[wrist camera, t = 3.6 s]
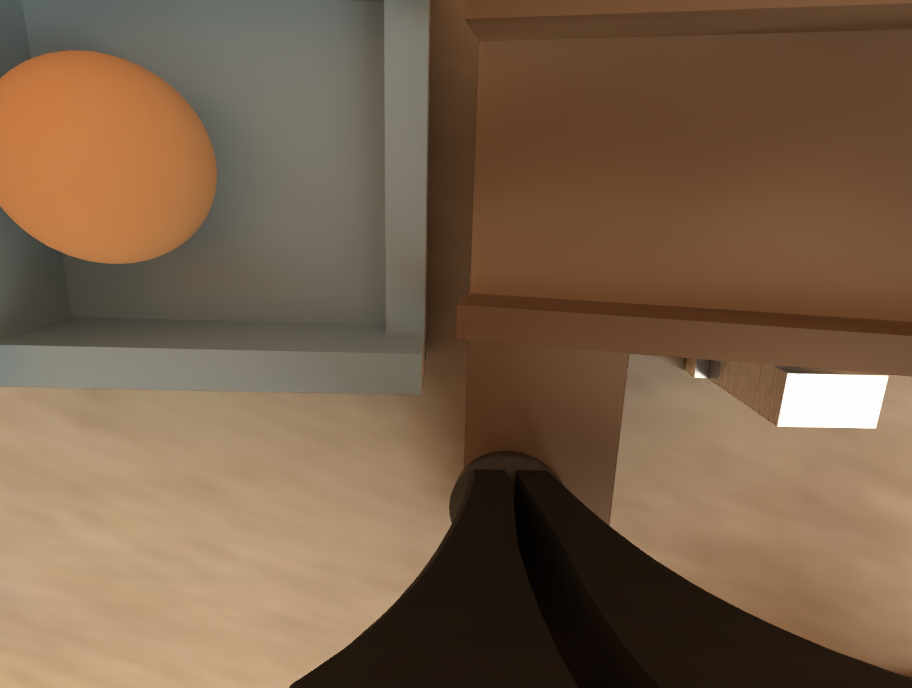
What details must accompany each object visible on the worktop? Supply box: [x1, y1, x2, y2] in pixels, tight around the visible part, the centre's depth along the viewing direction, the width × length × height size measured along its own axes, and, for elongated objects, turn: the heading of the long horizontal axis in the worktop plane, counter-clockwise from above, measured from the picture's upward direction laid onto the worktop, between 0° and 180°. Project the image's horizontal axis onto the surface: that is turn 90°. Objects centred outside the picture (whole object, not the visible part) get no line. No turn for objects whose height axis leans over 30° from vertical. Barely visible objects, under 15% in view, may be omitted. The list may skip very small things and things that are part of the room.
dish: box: [0, 0, 431, 395], centre depth 10 cm, size 8×9×4 cm
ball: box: [0, 50, 217, 264], centre depth 10 cm, size 4×4×4 cm
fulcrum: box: [685, 358, 889, 428], centre depth 10 cm, size 8×2×3 cm, turn 178°
